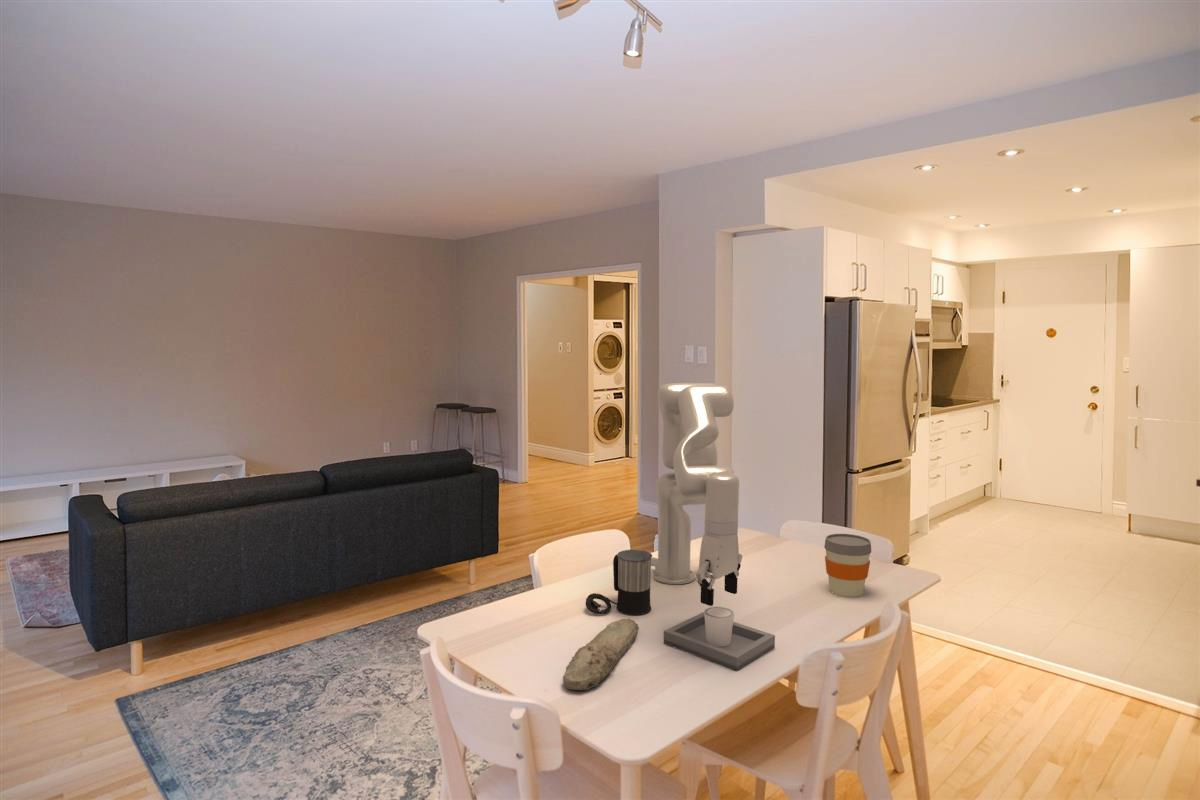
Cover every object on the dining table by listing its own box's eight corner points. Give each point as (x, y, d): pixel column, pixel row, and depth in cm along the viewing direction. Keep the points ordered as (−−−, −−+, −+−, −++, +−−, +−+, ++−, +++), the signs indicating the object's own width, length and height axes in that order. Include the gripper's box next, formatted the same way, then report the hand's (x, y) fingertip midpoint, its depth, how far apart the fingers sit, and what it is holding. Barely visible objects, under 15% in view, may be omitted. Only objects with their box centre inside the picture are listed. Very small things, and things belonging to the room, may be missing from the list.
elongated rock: (648, 637, 174) (610, 633, 177) (647, 615, 174) (609, 612, 177) (598, 697, 141) (552, 690, 145) (597, 670, 141) (551, 665, 144)
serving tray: (663, 643, 166) (663, 631, 166) (703, 623, 178) (703, 612, 178) (736, 671, 153) (737, 657, 152) (774, 647, 164) (775, 635, 164)
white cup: (733, 648, 162) (734, 618, 161) (703, 646, 163) (703, 616, 162) (733, 635, 168) (733, 607, 168) (703, 633, 169) (704, 605, 169)
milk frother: (658, 609, 187) (659, 554, 186) (618, 626, 176) (618, 568, 175) (619, 595, 197) (619, 543, 196) (578, 611, 186) (578, 555, 185)
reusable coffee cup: (855, 603, 192) (857, 549, 191) (814, 590, 202) (815, 538, 200) (878, 592, 201) (880, 540, 199) (837, 580, 210) (839, 530, 209)
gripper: (728, 515, 172) (726, 584, 174) (685, 531, 159) (683, 604, 161) (755, 522, 167) (752, 592, 169) (713, 538, 154) (711, 614, 156)
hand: (719, 598), depth 165 cm, fingers open, 9 cm apart
